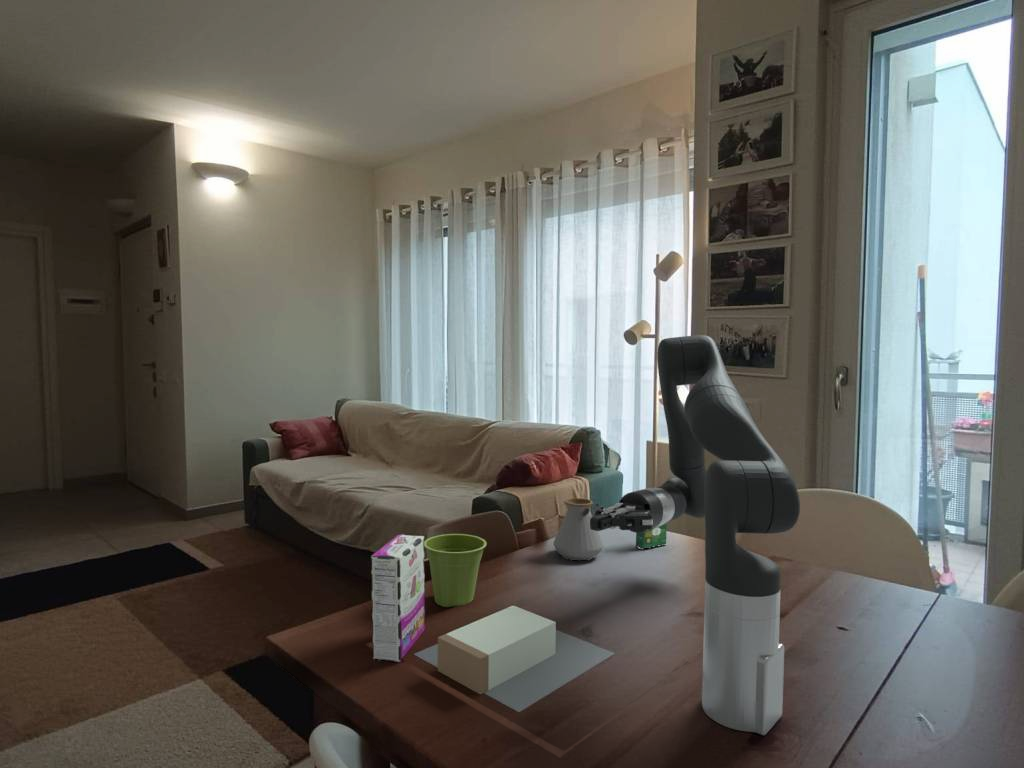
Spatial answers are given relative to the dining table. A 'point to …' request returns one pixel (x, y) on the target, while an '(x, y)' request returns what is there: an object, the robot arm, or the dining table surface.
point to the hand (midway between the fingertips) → (594, 524)
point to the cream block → (496, 648)
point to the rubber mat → (541, 671)
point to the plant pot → (454, 567)
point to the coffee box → (652, 537)
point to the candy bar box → (397, 597)
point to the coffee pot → (578, 532)
